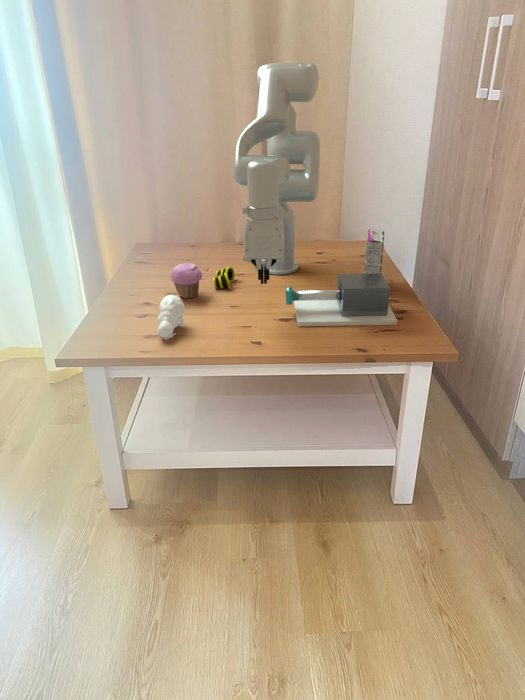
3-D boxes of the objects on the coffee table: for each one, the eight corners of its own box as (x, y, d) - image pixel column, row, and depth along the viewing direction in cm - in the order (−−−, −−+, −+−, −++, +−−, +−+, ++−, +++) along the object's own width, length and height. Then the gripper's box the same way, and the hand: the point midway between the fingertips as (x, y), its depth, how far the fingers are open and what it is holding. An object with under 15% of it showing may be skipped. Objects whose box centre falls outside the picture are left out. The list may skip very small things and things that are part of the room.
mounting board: (297, 326, 141) (297, 322, 140) (293, 301, 155) (293, 297, 154) (396, 324, 141) (397, 320, 140) (383, 299, 155) (384, 295, 154)
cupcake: (208, 296, 159) (206, 263, 154) (185, 304, 154) (182, 271, 149) (190, 288, 165) (187, 256, 160) (167, 296, 159) (163, 264, 154)
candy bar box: (363, 280, 168) (367, 229, 160) (379, 281, 167) (385, 229, 159) (361, 294, 158) (366, 240, 150) (379, 295, 158) (384, 241, 150)
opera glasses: (220, 281, 172) (216, 266, 169) (236, 278, 171) (232, 264, 168) (214, 293, 163) (210, 278, 161) (231, 290, 162) (227, 275, 160)
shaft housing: (342, 316, 143) (343, 288, 139) (336, 300, 152) (338, 274, 148) (387, 315, 143) (390, 287, 139) (379, 300, 152) (382, 273, 148)
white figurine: (184, 292, 139) (173, 316, 130) (187, 320, 144) (177, 345, 134) (160, 291, 140) (148, 315, 130) (164, 319, 145) (153, 344, 135)
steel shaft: (286, 307, 144) (286, 291, 142) (285, 300, 149) (285, 284, 146) (370, 306, 144) (372, 289, 142) (367, 299, 149) (368, 282, 146)
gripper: (232, 216, 131) (235, 287, 139) (294, 216, 131) (292, 287, 139) (233, 209, 137) (236, 277, 146) (292, 209, 137) (291, 277, 146)
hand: (263, 282), depth 143 cm, fingers closed
